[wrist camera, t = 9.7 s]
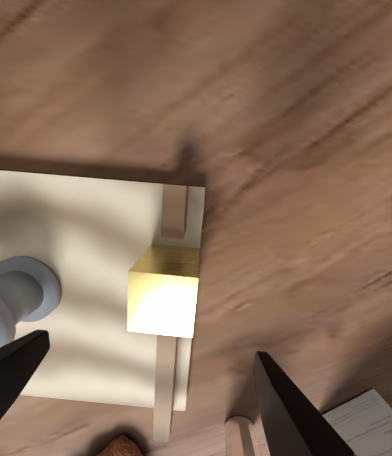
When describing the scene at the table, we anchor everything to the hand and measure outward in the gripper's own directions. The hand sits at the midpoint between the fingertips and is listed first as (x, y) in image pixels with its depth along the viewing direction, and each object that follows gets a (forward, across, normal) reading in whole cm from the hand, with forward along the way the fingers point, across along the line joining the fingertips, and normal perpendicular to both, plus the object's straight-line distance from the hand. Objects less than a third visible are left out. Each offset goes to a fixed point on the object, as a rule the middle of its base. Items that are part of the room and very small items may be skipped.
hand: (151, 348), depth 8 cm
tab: (+8, 0, 0) cm, 8 cm away
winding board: (+9, +8, +5) cm, 13 cm away
